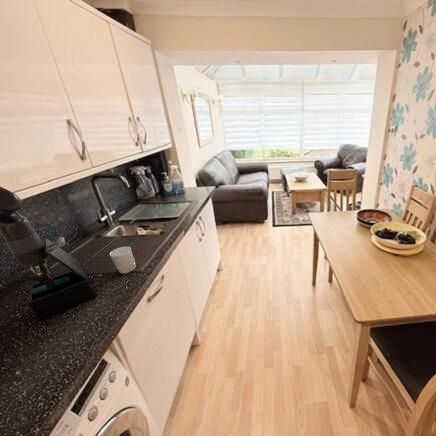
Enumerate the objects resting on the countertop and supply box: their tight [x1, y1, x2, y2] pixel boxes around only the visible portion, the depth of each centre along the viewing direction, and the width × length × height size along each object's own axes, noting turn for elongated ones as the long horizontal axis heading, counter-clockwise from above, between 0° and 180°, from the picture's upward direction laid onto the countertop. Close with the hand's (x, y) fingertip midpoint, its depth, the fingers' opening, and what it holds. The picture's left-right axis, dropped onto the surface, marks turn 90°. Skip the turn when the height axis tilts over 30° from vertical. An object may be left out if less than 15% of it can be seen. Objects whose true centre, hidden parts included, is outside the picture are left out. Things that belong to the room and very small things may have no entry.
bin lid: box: [43, 236, 87, 280], centre depth 89 cm, size 16×13×5 cm
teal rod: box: [32, 277, 70, 294], centre depth 87 cm, size 10×2×2 cm, turn 134°
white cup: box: [109, 246, 137, 274], centre depth 107 cm, size 8×8×10 cm
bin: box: [28, 270, 96, 322], centre depth 90 cm, size 16×13×9 cm
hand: (52, 287), depth 87 cm, fingers closed on teal rod, 2 cm apart
